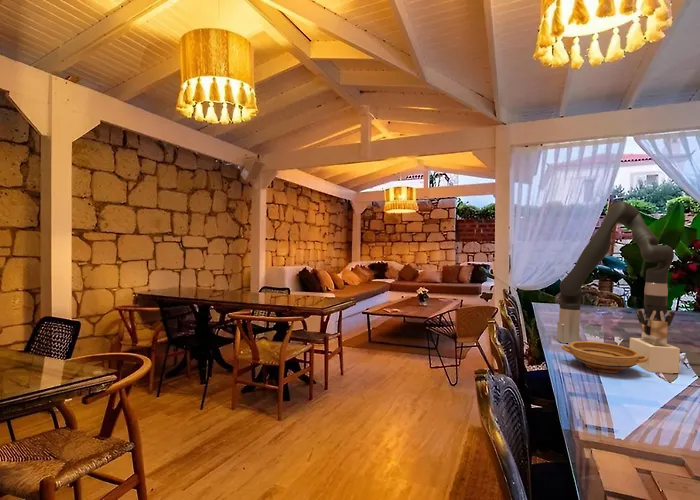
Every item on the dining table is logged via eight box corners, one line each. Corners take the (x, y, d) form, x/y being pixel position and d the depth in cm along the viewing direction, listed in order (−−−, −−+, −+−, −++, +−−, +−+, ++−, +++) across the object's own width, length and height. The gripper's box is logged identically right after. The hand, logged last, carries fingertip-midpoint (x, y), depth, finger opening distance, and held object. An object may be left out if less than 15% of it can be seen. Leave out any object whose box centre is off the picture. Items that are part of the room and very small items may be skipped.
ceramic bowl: (643, 366, 162) (644, 347, 162) (652, 384, 142) (653, 362, 141) (562, 354, 178) (562, 337, 177) (559, 369, 157) (559, 349, 156)
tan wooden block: (655, 344, 158) (656, 321, 158) (641, 338, 168) (642, 317, 168) (666, 344, 157) (667, 322, 157) (651, 338, 167) (652, 317, 167)
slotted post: (648, 371, 156) (649, 346, 156) (628, 360, 171) (629, 337, 171) (678, 373, 154) (679, 348, 154) (655, 362, 169) (656, 339, 169)
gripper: (641, 294, 160) (640, 336, 160) (681, 295, 157) (679, 338, 158) (631, 291, 167) (630, 332, 167) (669, 293, 165) (667, 334, 165)
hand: (654, 335), depth 162 cm, fingers closed on tan wooden block, 4 cm apart
